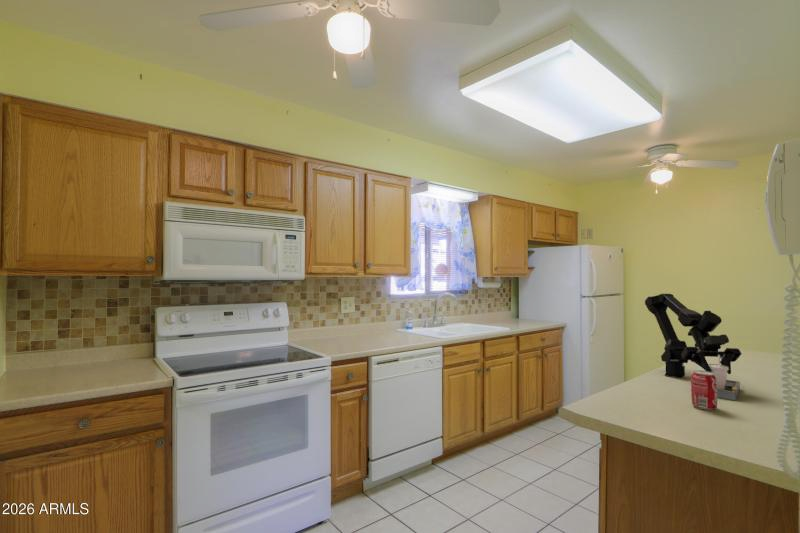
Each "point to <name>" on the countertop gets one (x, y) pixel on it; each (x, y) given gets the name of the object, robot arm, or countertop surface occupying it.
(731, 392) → the frame
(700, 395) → the soda can
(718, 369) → the white cup
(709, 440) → the countertop surface
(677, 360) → the robot arm
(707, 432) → the countertop surface
